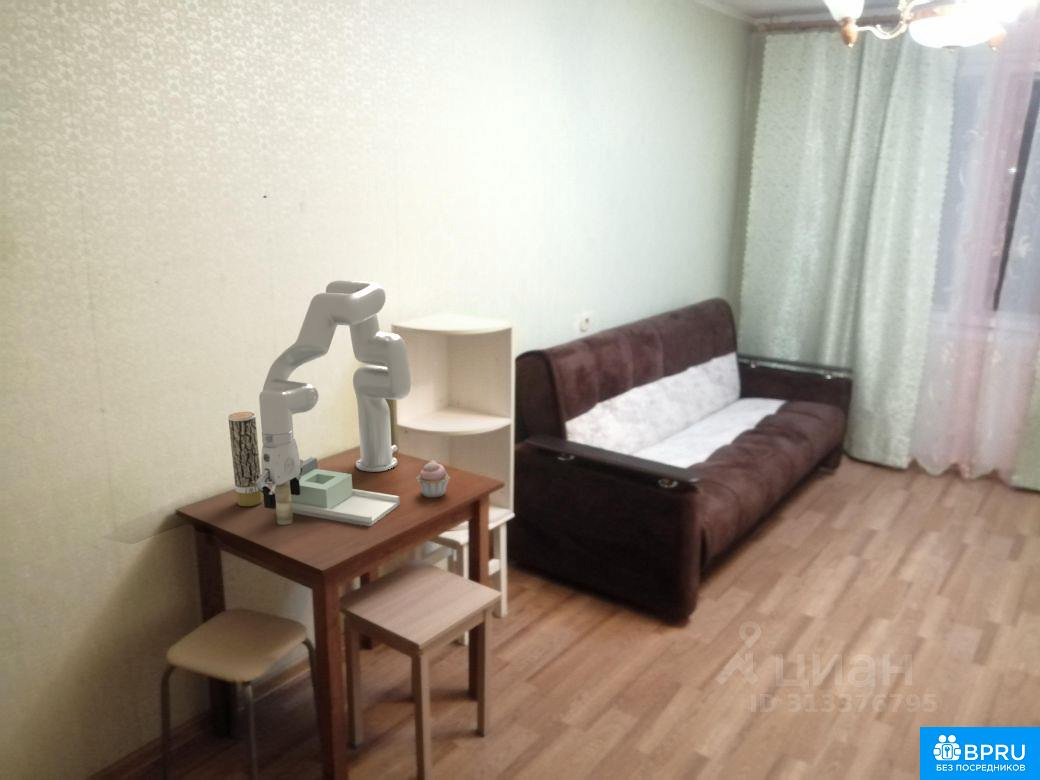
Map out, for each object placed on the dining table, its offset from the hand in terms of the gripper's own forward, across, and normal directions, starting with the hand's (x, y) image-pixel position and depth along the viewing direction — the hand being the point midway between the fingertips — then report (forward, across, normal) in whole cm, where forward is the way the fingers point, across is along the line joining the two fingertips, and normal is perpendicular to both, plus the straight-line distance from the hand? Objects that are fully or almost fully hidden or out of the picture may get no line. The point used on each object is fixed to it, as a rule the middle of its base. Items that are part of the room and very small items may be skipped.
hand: (282, 501), depth 201 cm
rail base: (+6, +13, -8) cm, 17 cm away
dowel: (+6, 0, 0) cm, 6 cm away
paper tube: (+6, +7, +17) cm, 20 cm away
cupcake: (+6, +31, -27) cm, 42 cm away
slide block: (+4, +13, -2) cm, 14 cm away
